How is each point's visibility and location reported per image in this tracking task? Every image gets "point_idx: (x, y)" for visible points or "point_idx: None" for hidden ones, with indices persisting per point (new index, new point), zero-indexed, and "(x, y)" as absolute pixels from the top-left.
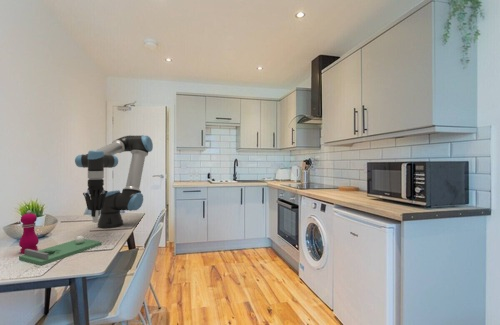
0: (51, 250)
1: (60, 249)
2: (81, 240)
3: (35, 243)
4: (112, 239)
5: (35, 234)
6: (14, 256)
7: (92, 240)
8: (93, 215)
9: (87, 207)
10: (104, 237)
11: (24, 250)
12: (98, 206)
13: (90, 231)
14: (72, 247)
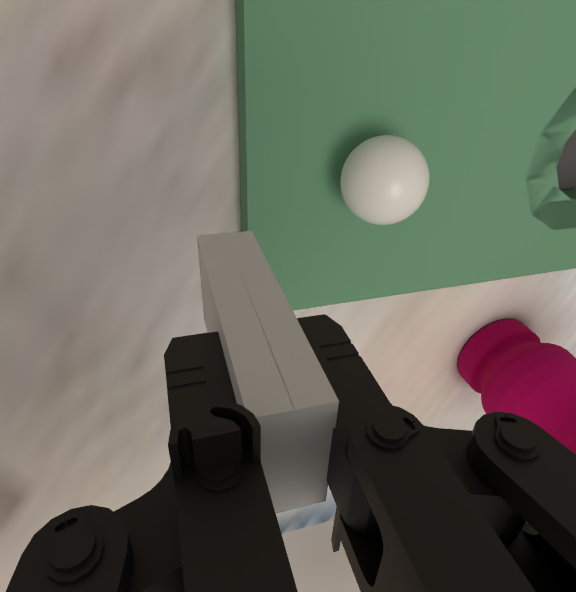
0: (543, 196)
1: (521, 156)
2: (398, 137)
3: (532, 350)
4: (3, 40)
5: (559, 411)
6: (561, 324)
7: (250, 143)
8: (337, 333)
9: (547, 553)
10: (32, 223)
11: (539, 340)
12: (283, 558)
13: (22, 496)
14: (470, 110)
